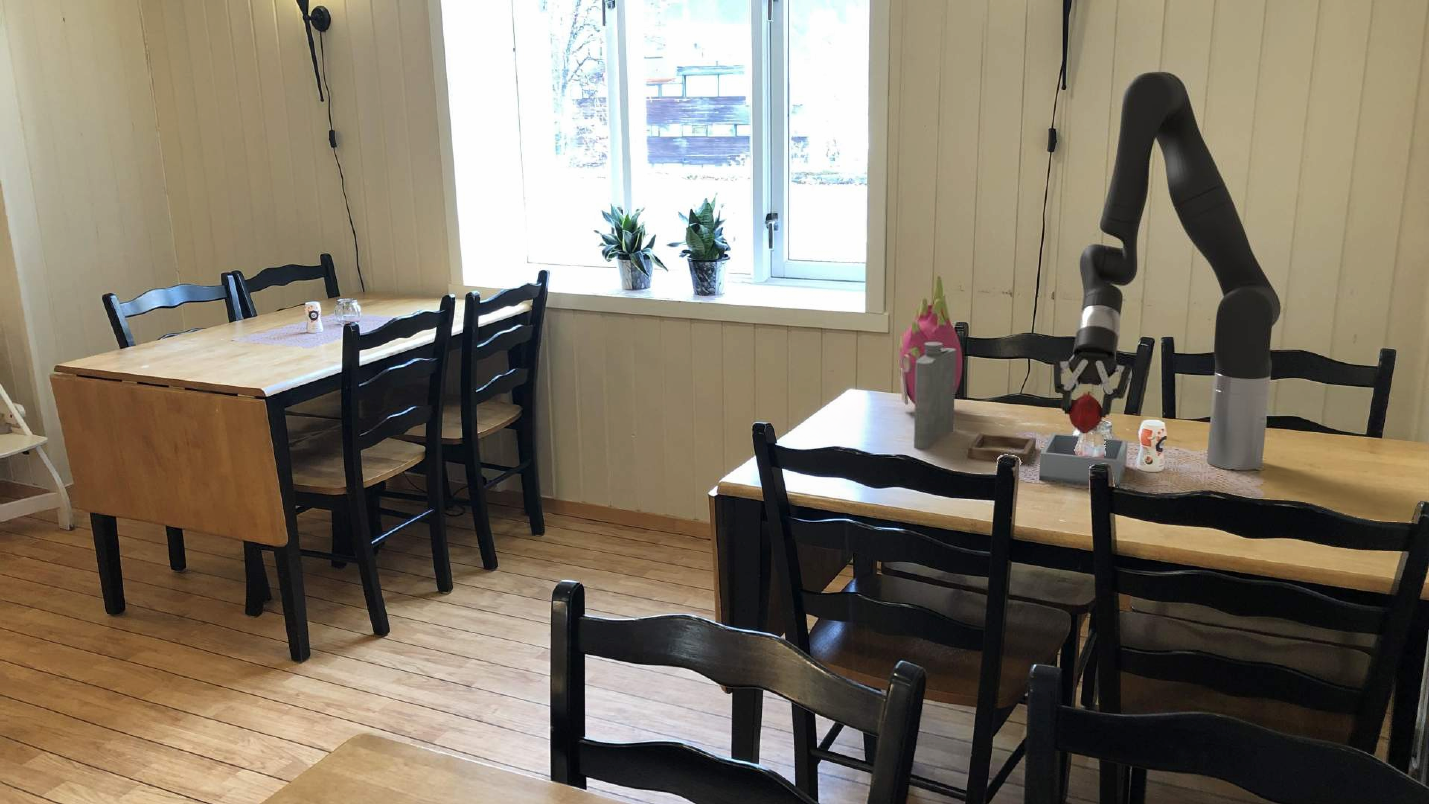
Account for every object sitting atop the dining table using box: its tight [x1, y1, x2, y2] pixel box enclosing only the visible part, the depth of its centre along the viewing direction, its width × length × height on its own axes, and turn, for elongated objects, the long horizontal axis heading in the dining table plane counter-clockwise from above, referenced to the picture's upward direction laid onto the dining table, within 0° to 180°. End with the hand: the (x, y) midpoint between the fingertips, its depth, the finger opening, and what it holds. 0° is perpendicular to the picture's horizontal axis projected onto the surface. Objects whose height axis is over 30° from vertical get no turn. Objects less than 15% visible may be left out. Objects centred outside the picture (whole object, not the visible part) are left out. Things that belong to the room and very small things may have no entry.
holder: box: [967, 432, 1037, 465], centre depth 214 cm, size 11×11×2 cm
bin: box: [1038, 432, 1129, 488], centre depth 201 cm, size 14×14×5 cm
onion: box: [1068, 389, 1103, 434], centre depth 199 cm, size 6×6×8 cm
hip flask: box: [913, 342, 956, 450], centre depth 222 cm, size 16×4×20 cm, turn 147°
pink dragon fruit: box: [898, 275, 963, 406], centre depth 242 cm, size 18×14×30 cm
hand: (1085, 413), depth 197 cm, fingers closed on onion, 5 cm apart
